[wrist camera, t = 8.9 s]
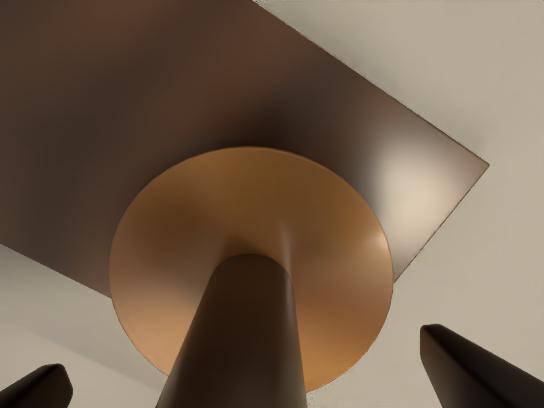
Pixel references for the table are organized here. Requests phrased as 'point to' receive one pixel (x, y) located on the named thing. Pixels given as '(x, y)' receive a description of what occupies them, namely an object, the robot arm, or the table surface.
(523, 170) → the table surface
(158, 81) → the board
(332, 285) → the lid
